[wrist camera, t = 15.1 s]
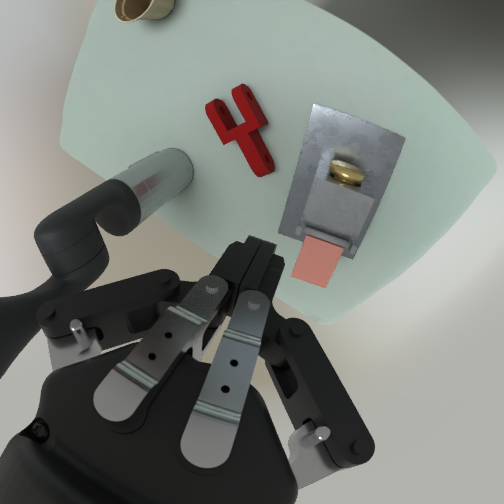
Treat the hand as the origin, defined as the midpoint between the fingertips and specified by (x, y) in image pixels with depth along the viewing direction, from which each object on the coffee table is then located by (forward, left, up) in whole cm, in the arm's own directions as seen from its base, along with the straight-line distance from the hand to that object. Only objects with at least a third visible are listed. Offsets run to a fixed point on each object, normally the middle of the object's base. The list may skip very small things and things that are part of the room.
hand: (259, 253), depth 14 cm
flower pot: (-34, +21, -35) cm, 53 cm away
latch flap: (+6, -16, -24) cm, 30 cm away
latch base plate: (+6, -8, -35) cm, 36 cm away
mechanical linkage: (-11, -3, -36) cm, 37 cm away
